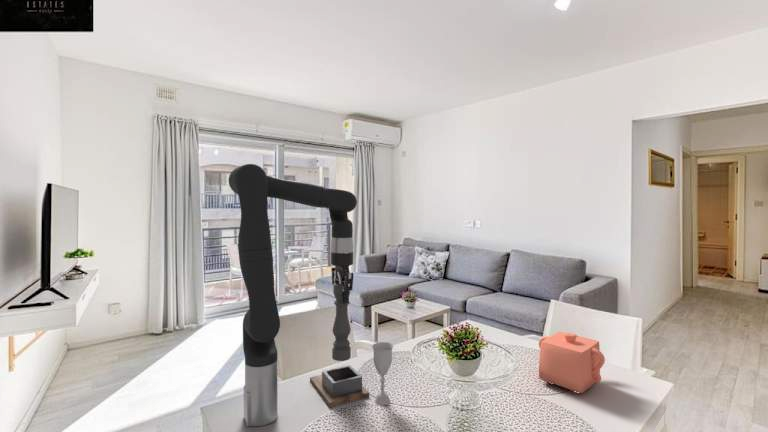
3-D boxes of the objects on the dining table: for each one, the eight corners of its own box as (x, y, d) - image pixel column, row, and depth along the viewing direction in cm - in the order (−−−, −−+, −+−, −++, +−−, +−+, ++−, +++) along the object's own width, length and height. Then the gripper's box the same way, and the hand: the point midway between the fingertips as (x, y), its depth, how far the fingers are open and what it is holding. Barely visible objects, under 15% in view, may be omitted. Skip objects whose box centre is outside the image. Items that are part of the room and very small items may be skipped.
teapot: (556, 361, 156) (557, 318, 156) (618, 380, 139) (619, 332, 139) (527, 379, 139) (528, 331, 139) (594, 403, 123) (595, 349, 122)
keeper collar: (332, 398, 121) (332, 383, 121) (321, 385, 131) (322, 370, 130) (362, 391, 126) (362, 376, 126) (349, 378, 136) (349, 365, 135)
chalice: (380, 393, 128) (380, 340, 128) (397, 399, 124) (397, 345, 124) (367, 402, 122) (367, 347, 122) (384, 408, 118) (384, 352, 118)
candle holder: (347, 361, 124) (348, 286, 124) (329, 360, 126) (330, 285, 125) (352, 354, 131) (353, 282, 130) (335, 353, 132) (336, 281, 131)
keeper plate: (329, 407, 119) (329, 402, 119) (309, 381, 137) (309, 377, 136) (369, 396, 126) (369, 392, 126) (345, 373, 143) (345, 369, 143)
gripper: (324, 249, 132) (323, 297, 132) (339, 253, 119) (339, 306, 119) (344, 248, 135) (343, 294, 136) (361, 252, 123) (360, 304, 123)
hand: (341, 300), depth 128 cm, fingers closed on candle holder, 5 cm apart
